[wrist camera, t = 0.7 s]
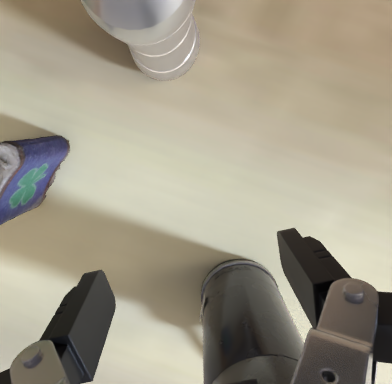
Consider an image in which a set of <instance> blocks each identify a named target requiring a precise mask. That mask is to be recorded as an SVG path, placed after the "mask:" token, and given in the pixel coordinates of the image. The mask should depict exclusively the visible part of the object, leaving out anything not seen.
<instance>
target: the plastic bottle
mask: <svg viewBox="0 0 392 384" xmlns="http://www.w3.org/2000/svg"><path fill="white" fill-rule="evenodd" d="M195 1H196V0H81V2H82V5H83V6H84V8H85V9H86V11H87V13H88V14H89V16H90V17H91V18H92V19H93V20H94V21H95V22H96V23H97V24H98V26H100V27H101V28H102V29H104V30H105V31H106V32H107V33H109V34H110V35H112V36H113V37H114V38H117V39H119V40H120V41H122V42H124V43H126V44H127V45H128V46H129V50H130V52H131V55H132V57H133V60H134V62H135V63H136V65H137V67H138V68H139V69H140V70H141V71H142V72H143V73H144V74H146V75H147V76H149V77H151V78H153V79H156V80H173V79H176V78H178V77H180V76H182V75H183V74H185V73H186V72H187V71H188V70H189V69H190V68H191V66H192V65H193V63H194V62H195V60H196V57H197V55H198V51H199V46H200V35H199V30H198V27H197V24H196V21H195V18H194V16H193V15H192V11H193V7H194V4H195Z"/></svg>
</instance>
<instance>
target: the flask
mask: <svg viewBox="0 0 392 384" xmlns="http://www.w3.org/2000/svg"><path fill="white" fill-rule="evenodd" d="M69 152H70V145H69V140H66V139H65V138H64V137H62V136H50V137H41V138H36V139H25V140H16V141H4V142H2V143H0V225H1V224H3V223H5V222H7V221H9V220H11V219H13V218H15V217H16V216H18V215H21V214H23V213H25V212H27V211H29V210H32V209H33V208H36V207H38V206H39V205H40V204H41V202H42V201H43V200H44V199H45V197H46V195H45V194H46V192H47V190H48V188H49V187H50V186H51V185H52V183H53V182H54V179H55V177H56V176H55V172H56V171H57V169H60V164H61V162H62V161H65V160H64V159H65V158H66V156H67V155H68V153H69Z"/></svg>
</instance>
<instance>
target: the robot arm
mask: <svg viewBox="0 0 392 384" xmlns="http://www.w3.org/2000/svg"><path fill="white" fill-rule="evenodd" d="M277 238H278V245H279V253H280V260H281V265H282V268H283V271H284V274H285V276H286V278H287V280H288V281H289V283H290V285H291V287H292V289H293V291H294V293H295V295H296V297H297V298H298V300H299V302H300V304H301V306H302V308H303V310H304V312H305V314H306V315H307V317H308V319H309V321H310V323H311V325H312V327H313V328H311V329H310V330H309V332H308V334H307V337H306V340H305V343H304V342H303V340H302V337H301V335H300V333H299V331H298V329H297V327H296V325H295V323H294V321H293V319H292V317H291V315H290V313H289V311H288V309H287V306H286V304H285V302H284V300H283V298H282V296H281V294H280V292H279V289H278V286H277V284H276V281H275V279H274V278H273V276H272V274H271V273H270V272H269V271H268V270H267V269H266V268H265V267H263V266H262V265H260V264H258V263H256V262H253V261H249V260H232V261H228V262H225V263H223V264H221V265H219V266H217V267H216V268H214V269H213V270H212V271H211V272H210V273H209V274H208V276H207V277H206V279H205V281H204V283H203V286H202V290H201V302H202V308H201V313H200V321H201V316H202V321H203V370H204V384H376V375H377V366H378V362H384V363H392V293H390V292H378V291H376V289H375V288H374V287H373V286H372V285H370V284H368V283H367V282H365V281H362V280H358V279H353V278H351V277H350V276H349V274H348V273H347V272H346V271H345V270H344V269H343V267H342V266H341V265H340V264H339V263H338V262H337V261H336V259H335V258H334V257H332V255H331V254H330V253H329V251H328V250H326V248H325V247H324V246H323V244H322V243H321V242H320V241H318V240H316V239H314V238H312V237H310V236H309V237H304V238H302V237H301V235H300V234H299V233H298V231H297V230H296V229H295V228H291V229H286V230H282V231H278V232H277ZM115 306H116V304H115V297H114V295H113V292H112V290H111V287H110V285H109V283H108V280H107V278H106V275H105V273H104V272H103V271H102V270H98V271H93V272H88V273H85V274H83V276H82V278H81V280H80V281H79V283H78V285H77V286H76V287H74V288H73V289H72V290H71V291H70V292H69V293H68V294H67V295H66V296H65V297H64V299H63V300H62V302H61V304H60V307H58V309H57V311H56V313H55V315H54V316H53V318H52V319H51V321H50V323H49V325H48V326H47V328H46V330H45V332H44V333H43V335H42V337H41V338H40V340H39V341H38V342H35V343H33V344H31V345H30V346H28V347H27V348H25V349H24V350H23V351H22V352H21V353H20V354H19V355H18V356H17V357H16V358H15V359H14V361H13V362H12V364H11V367H10V369H7V370H5V371H3V372H1V373H0V384H81V383H86V382H91V381H93V378H94V375H95V372H96V369H97V366H98V362H99V359H100V356H101V353H102V350H103V347H104V344H105V340H106V337H107V334H108V331H109V328H110V325H111V321H112V318H113V315H114V312H115Z"/></svg>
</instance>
